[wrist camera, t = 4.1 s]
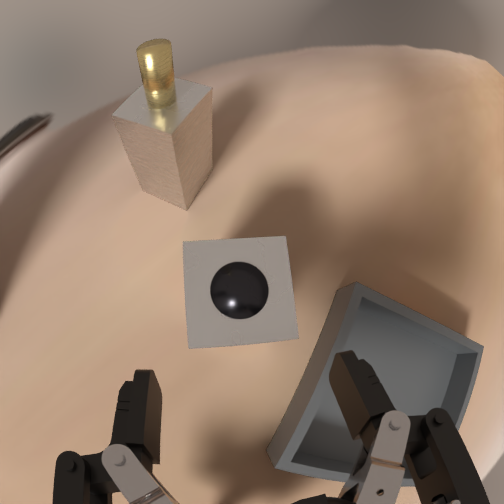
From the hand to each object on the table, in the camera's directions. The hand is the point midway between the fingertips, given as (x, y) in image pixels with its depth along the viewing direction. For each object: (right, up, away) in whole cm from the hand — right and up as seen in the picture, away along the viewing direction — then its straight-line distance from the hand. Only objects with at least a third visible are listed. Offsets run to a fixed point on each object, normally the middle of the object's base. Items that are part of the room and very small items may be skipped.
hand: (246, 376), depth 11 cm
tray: (+11, -7, +8) cm, 16 cm away
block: (-1, +1, +9) cm, 9 cm away
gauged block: (-6, +12, +12) cm, 18 cm away
